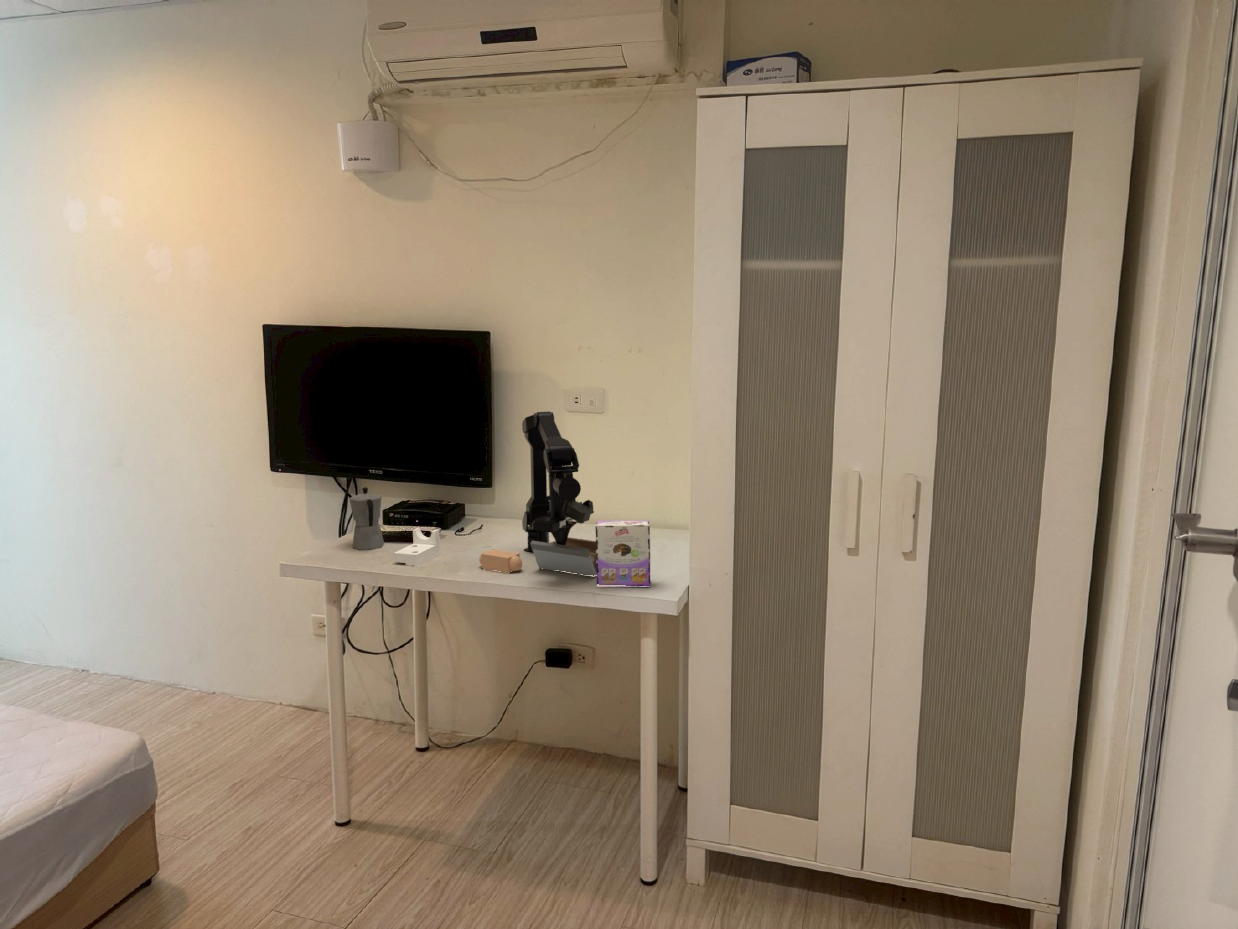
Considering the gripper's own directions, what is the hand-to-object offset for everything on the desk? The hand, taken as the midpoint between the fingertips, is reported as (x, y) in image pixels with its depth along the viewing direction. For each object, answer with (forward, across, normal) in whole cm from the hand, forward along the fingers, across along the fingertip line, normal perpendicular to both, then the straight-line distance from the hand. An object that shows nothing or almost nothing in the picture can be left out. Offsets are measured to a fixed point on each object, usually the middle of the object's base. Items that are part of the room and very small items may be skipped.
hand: (562, 549), depth 232 cm
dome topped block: (+7, -3, +18) cm, 20 cm away
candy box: (+8, 0, -18) cm, 19 cm away
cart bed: (+7, +8, 0) cm, 11 cm away
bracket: (+8, -6, +45) cm, 46 cm away
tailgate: (+7, +2, 0) cm, 7 cm away
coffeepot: (+7, -3, +67) cm, 68 cm away
